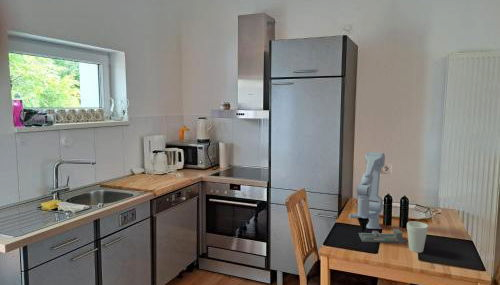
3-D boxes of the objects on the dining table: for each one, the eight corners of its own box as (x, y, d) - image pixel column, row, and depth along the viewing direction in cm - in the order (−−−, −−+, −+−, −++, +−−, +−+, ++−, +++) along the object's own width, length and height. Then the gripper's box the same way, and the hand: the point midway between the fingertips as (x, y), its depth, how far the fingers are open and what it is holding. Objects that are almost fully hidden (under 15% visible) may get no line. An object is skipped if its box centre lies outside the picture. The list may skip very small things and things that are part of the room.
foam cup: (424, 247, 175) (425, 222, 174) (428, 254, 166) (430, 228, 165) (404, 245, 178) (405, 220, 176) (407, 252, 169) (408, 227, 167)
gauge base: (358, 234, 192) (358, 226, 191) (399, 235, 190) (399, 227, 189) (362, 242, 182) (363, 233, 181) (406, 243, 180) (406, 234, 179)
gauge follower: (372, 234, 188) (372, 230, 188) (377, 234, 188) (377, 231, 188) (375, 239, 182) (375, 235, 181) (381, 239, 181) (381, 235, 181)
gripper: (351, 208, 181) (350, 233, 183) (379, 209, 180) (378, 234, 182) (348, 204, 188) (347, 228, 190) (375, 205, 187) (374, 229, 189)
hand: (362, 231), depth 186 cm, fingers closed
